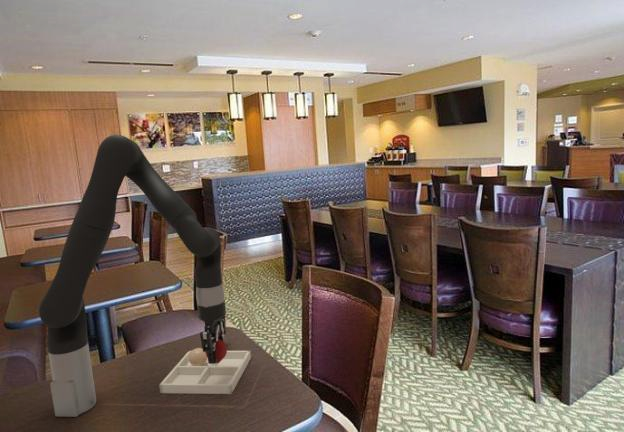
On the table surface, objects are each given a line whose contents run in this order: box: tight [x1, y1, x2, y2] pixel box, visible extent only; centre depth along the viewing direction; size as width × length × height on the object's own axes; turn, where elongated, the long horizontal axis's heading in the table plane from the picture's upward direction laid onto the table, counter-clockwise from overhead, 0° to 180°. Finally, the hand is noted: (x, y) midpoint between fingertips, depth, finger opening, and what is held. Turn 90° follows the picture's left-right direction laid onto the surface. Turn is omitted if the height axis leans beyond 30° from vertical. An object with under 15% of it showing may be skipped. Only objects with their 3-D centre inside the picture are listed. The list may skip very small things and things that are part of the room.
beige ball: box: [189, 347, 207, 366], centre depth 132 cm, size 6×6×6 cm
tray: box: [158, 350, 252, 395], centre depth 127 cm, size 20×20×3 cm
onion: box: [206, 337, 228, 363], centre depth 120 cm, size 6×6×8 cm
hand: (216, 357), depth 120 cm, fingers closed on onion, 6 cm apart
